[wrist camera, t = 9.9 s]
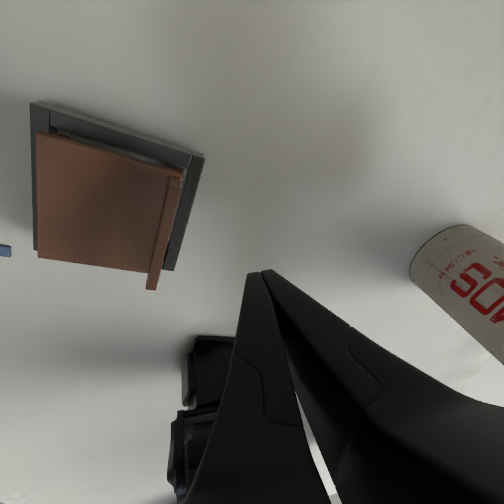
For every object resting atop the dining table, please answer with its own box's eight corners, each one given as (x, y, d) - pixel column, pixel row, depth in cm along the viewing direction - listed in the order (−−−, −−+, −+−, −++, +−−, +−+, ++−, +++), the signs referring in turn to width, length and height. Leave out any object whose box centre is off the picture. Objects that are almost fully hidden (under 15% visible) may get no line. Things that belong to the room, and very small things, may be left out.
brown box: (202, 150, 18) (211, 179, 13) (174, 256, 22) (173, 305, 17) (45, 98, 14) (-13, 113, 10) (45, 234, 18) (4, 287, 14)
